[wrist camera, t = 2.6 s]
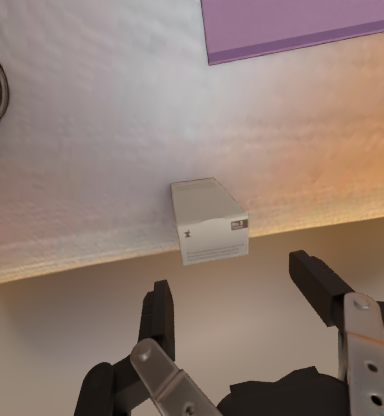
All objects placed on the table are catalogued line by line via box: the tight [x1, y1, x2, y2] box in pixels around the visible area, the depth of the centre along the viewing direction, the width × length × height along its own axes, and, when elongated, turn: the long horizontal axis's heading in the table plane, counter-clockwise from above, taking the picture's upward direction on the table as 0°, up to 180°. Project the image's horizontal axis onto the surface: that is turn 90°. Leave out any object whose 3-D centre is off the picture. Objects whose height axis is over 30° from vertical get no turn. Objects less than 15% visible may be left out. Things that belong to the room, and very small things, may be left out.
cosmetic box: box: [170, 178, 249, 265], centre depth 22 cm, size 6×4×12 cm
